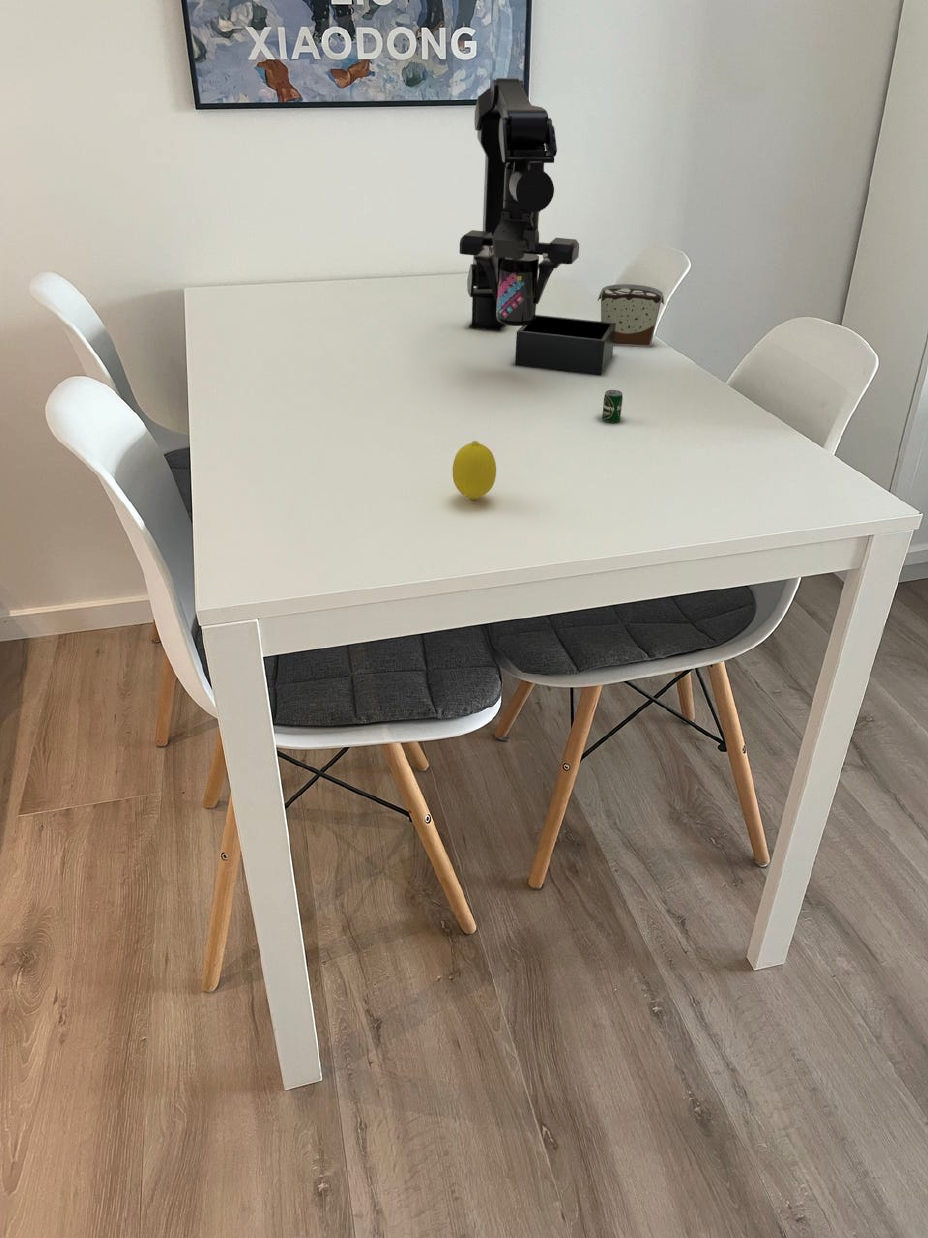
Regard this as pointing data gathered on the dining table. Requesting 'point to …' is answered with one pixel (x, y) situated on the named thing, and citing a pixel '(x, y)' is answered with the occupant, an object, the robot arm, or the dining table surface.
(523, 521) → the dining table surface
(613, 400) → the beer can
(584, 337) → the basin
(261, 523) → the dining table surface
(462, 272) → the dining table surface
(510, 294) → the supplement container
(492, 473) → the lemon
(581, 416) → the dining table surface
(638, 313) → the food container
